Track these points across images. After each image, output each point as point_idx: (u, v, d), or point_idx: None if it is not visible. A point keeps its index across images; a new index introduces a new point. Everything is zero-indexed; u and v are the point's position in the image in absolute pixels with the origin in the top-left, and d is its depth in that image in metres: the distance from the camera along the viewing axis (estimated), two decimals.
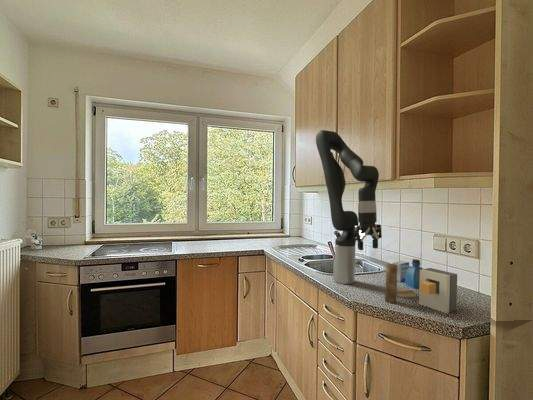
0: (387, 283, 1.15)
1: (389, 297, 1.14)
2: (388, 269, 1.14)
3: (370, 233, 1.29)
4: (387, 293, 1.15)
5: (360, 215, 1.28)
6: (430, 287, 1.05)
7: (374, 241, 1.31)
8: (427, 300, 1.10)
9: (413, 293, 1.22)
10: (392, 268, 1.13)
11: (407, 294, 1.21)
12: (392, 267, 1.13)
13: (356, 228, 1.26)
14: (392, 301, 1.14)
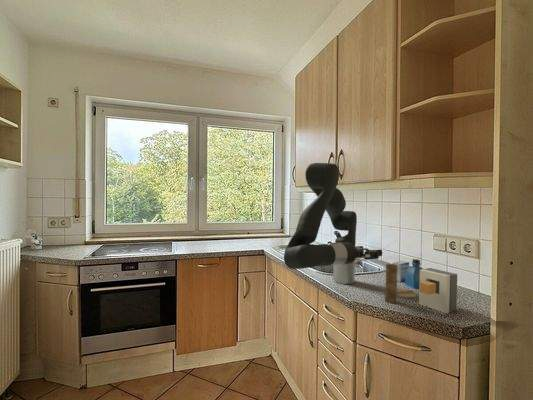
0: (387, 283, 1.15)
1: (389, 297, 1.14)
2: (388, 269, 1.14)
3: None
4: (387, 293, 1.15)
5: None
6: (430, 287, 1.05)
7: None
8: (427, 300, 1.10)
9: (413, 293, 1.22)
10: (392, 268, 1.13)
11: (407, 294, 1.21)
12: (392, 267, 1.13)
13: None
14: (392, 301, 1.14)
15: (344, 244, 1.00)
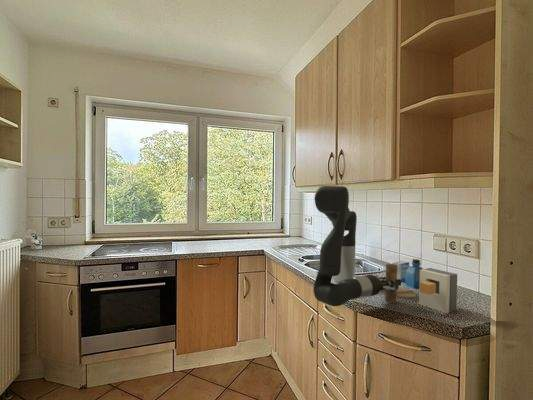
0: None
1: (389, 297, 1.14)
2: (388, 269, 1.14)
3: None
4: (387, 293, 1.15)
5: None
6: (430, 287, 1.05)
7: None
8: (427, 300, 1.10)
9: (413, 293, 1.22)
10: (392, 268, 1.13)
11: (407, 294, 1.21)
12: (392, 267, 1.13)
13: None
14: (392, 301, 1.14)
15: (369, 278, 1.07)
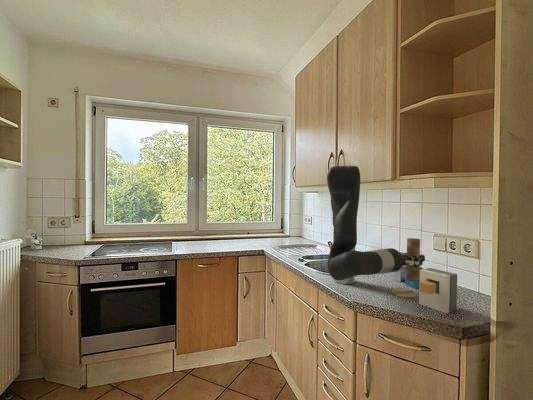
0: None
1: (411, 275, 1.01)
2: (409, 243, 1.01)
3: None
4: (409, 270, 1.02)
5: None
6: (430, 287, 1.05)
7: None
8: (427, 300, 1.10)
9: (413, 293, 1.22)
10: (414, 241, 1.01)
11: (407, 294, 1.21)
12: (415, 241, 1.01)
13: None
14: (414, 279, 1.01)
15: (390, 251, 0.94)
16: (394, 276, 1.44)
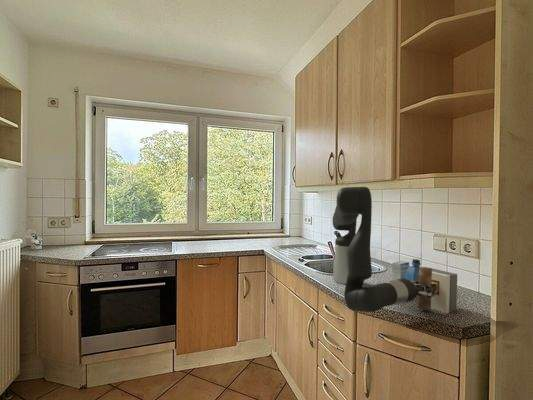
0: None
1: (423, 304, 1.05)
2: (422, 272, 1.05)
3: None
4: (421, 299, 1.05)
5: None
6: None
7: None
8: None
9: None
10: (426, 271, 1.04)
11: None
12: (427, 270, 1.04)
13: None
14: (426, 307, 1.04)
15: (404, 282, 0.98)
16: (394, 276, 1.44)
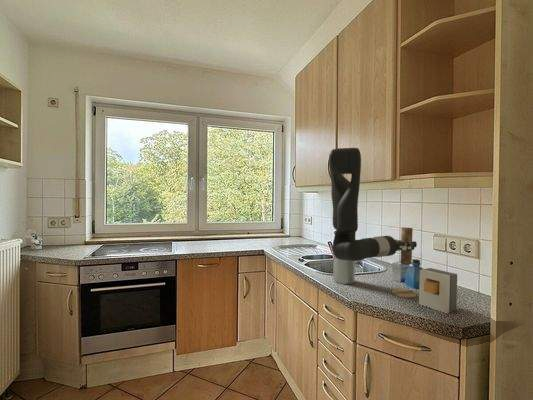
0: None
1: (404, 259, 1.17)
2: (403, 231, 1.17)
3: None
4: (402, 255, 1.17)
5: None
6: (434, 286, 1.06)
7: None
8: (427, 300, 1.10)
9: (413, 293, 1.22)
10: (407, 230, 1.16)
11: (407, 294, 1.21)
12: (408, 229, 1.16)
13: None
14: (407, 262, 1.16)
15: (386, 238, 1.10)
16: (394, 276, 1.44)
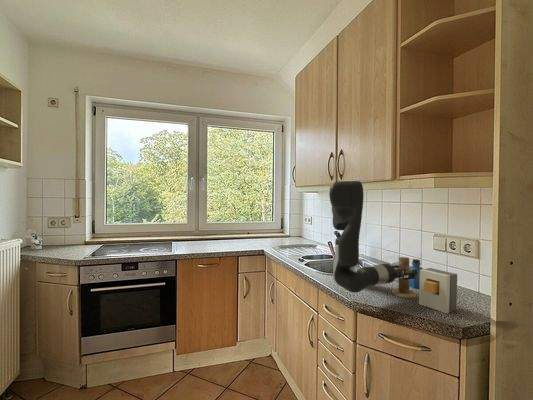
0: None
1: (402, 288, 1.22)
2: (400, 262, 1.22)
3: None
4: (400, 284, 1.23)
5: None
6: (434, 286, 1.06)
7: None
8: (427, 300, 1.10)
9: (413, 293, 1.22)
10: (404, 261, 1.22)
11: (407, 294, 1.21)
12: (405, 260, 1.22)
13: None
14: (405, 292, 1.22)
15: (385, 266, 1.16)
16: None
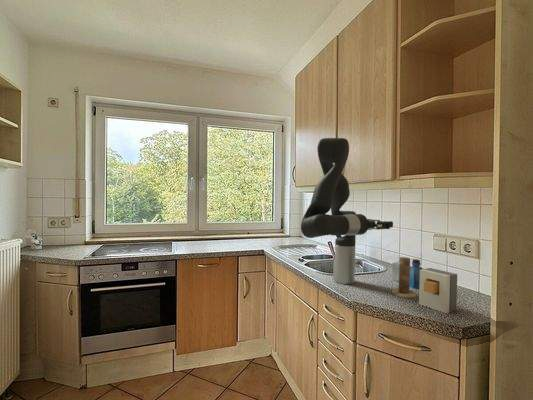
0: (401, 275, 1.23)
1: (402, 288, 1.22)
2: (401, 262, 1.23)
3: None
4: (401, 284, 1.23)
5: None
6: (434, 286, 1.06)
7: None
8: (427, 300, 1.10)
9: (413, 293, 1.22)
10: (405, 261, 1.22)
11: (407, 294, 1.21)
12: (405, 260, 1.22)
13: None
14: (405, 292, 1.22)
15: (357, 215, 1.06)
16: (394, 276, 1.44)
